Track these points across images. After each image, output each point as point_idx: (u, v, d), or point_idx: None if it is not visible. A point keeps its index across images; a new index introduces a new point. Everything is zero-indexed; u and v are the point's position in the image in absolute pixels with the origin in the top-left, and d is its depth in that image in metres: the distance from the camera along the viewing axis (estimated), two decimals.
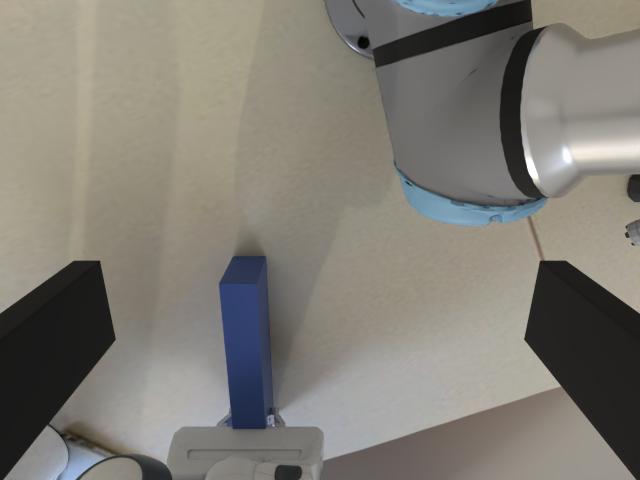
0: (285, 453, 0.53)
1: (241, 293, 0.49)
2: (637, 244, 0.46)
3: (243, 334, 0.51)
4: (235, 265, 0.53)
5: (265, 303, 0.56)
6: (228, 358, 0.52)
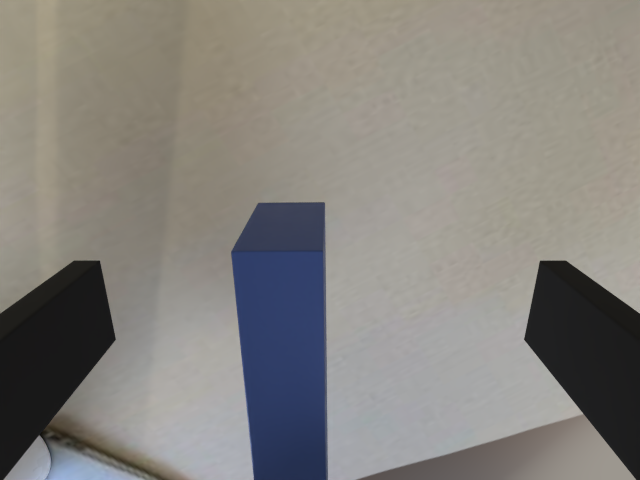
0: None
1: (285, 274, 0.20)
2: None
3: (287, 367, 0.22)
4: (264, 217, 0.25)
5: (325, 297, 0.27)
6: (253, 418, 0.24)
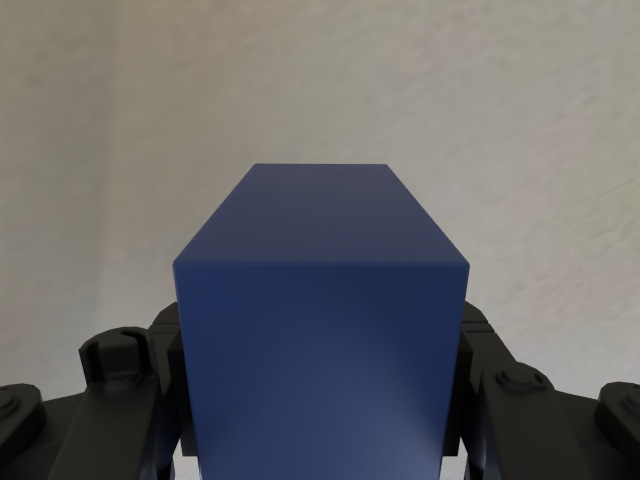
0: None
1: (341, 334, 0.07)
2: None
3: None
4: (270, 183, 0.11)
5: None
6: None
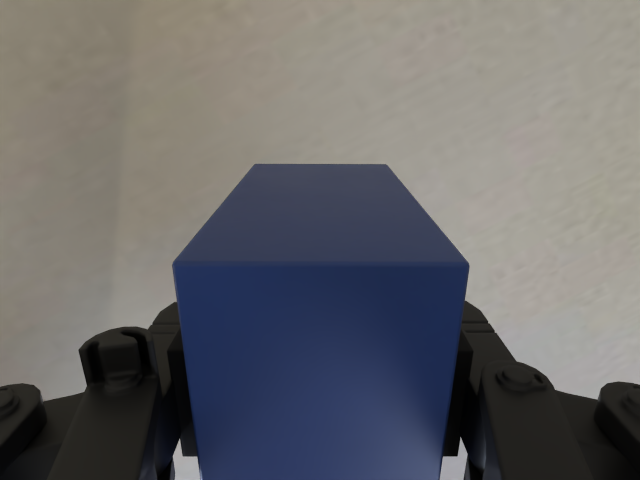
0: None
1: (342, 334, 0.07)
2: None
3: None
4: (270, 184, 0.11)
5: None
6: None
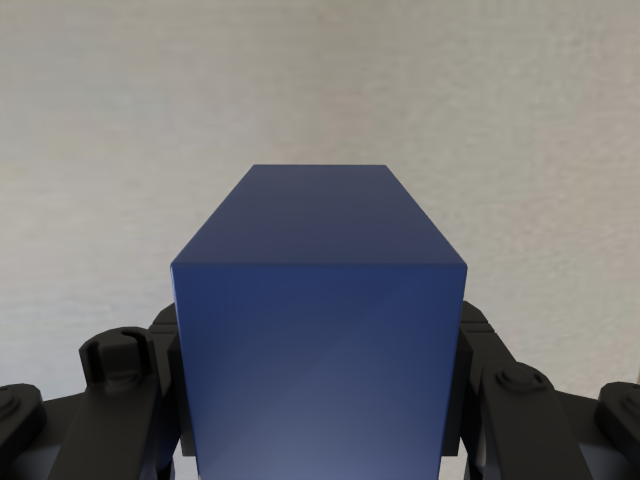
0: None
1: (339, 336, 0.07)
2: None
3: None
4: (268, 184, 0.11)
5: None
6: None
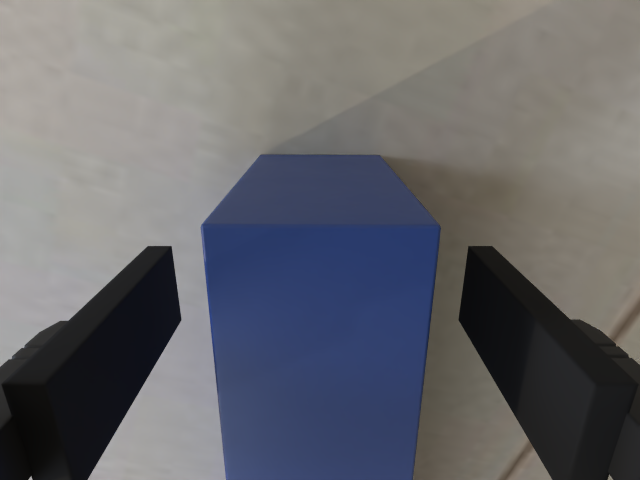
0: None
1: (338, 285, 0.08)
2: None
3: None
4: (275, 170, 0.13)
5: None
6: None
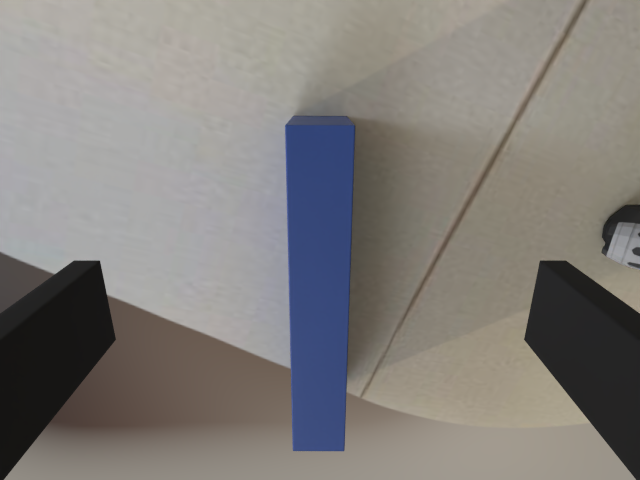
0: None
1: (325, 144, 0.27)
2: (612, 250, 0.29)
3: (323, 227, 0.29)
4: (302, 118, 0.31)
5: None
6: (293, 273, 0.30)
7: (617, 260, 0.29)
